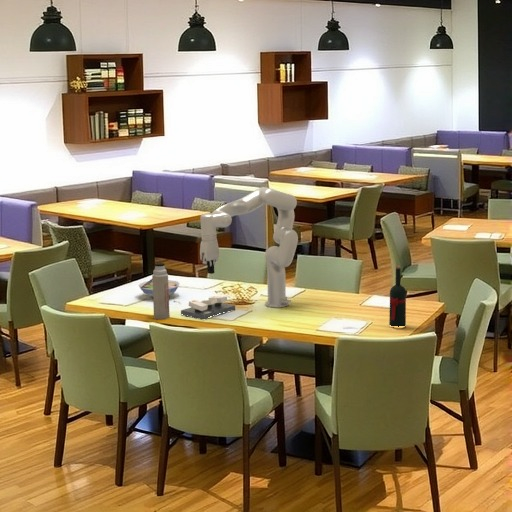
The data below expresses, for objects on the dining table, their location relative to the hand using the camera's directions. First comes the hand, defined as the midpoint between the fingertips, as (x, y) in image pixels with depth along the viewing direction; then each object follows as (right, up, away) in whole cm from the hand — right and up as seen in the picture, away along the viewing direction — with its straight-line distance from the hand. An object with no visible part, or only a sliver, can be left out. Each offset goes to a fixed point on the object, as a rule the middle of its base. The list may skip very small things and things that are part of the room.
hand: (211, 273), depth 487 cm
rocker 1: (-7, -18, +1) cm, 19 cm away
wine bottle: (+91, -26, -27) cm, 98 cm away
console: (-2, -21, +7) cm, 22 cm away
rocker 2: (-2, -16, +6) cm, 17 cm away
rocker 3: (+3, -15, +12) cm, 19 cm away
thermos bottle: (-25, -23, -1) cm, 34 cm away
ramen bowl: (-31, -14, +42) cm, 54 cm away
